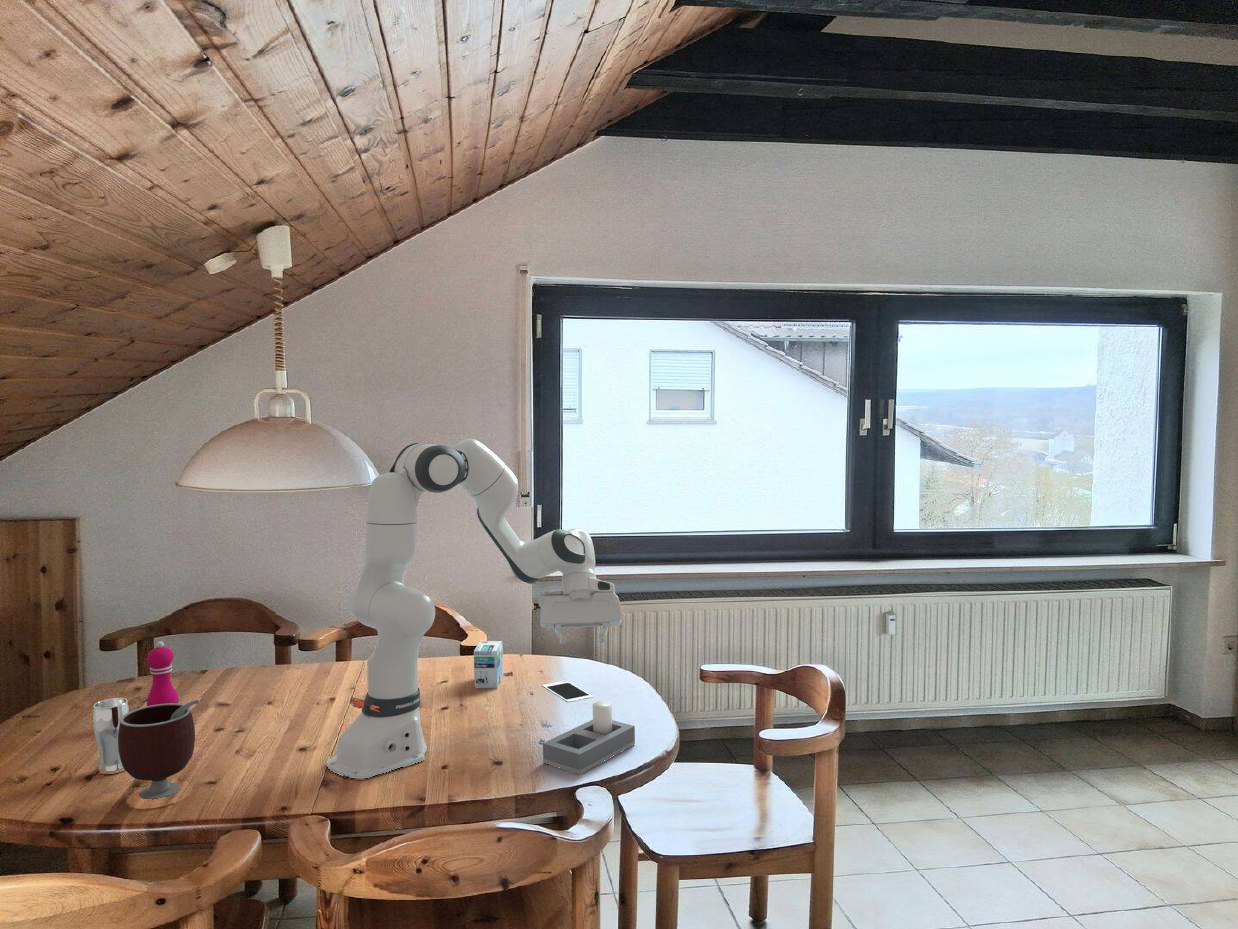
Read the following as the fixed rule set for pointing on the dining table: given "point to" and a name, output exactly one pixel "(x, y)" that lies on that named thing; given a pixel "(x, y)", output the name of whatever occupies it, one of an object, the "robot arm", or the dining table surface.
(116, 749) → the beer glass
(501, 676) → the light bulb box
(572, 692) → the cell phone
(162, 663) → the pepper mill
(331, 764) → the robot arm
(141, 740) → the mate gourd
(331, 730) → the dining table surface
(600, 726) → the plug
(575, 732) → the socket block
